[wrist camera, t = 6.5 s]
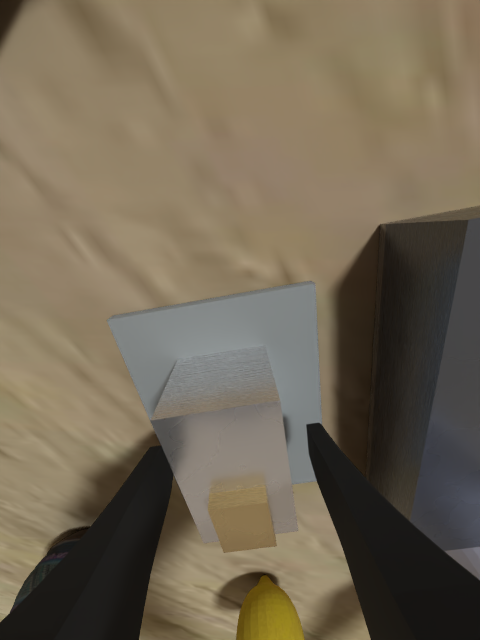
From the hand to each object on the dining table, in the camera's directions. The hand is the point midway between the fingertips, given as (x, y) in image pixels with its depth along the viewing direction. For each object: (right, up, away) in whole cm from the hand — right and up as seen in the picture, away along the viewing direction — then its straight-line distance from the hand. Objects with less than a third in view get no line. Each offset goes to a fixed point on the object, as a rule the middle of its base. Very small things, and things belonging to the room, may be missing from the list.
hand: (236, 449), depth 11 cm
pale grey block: (0, +1, +2) cm, 2 cm away
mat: (0, +1, +3) cm, 3 cm away
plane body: (+11, +3, +2) cm, 11 cm away
